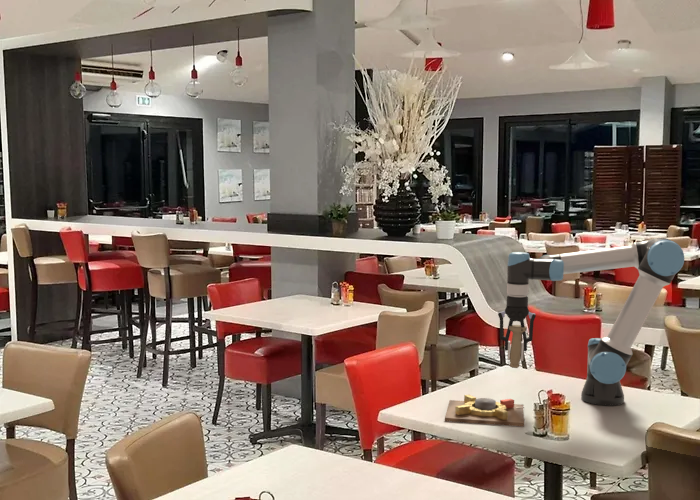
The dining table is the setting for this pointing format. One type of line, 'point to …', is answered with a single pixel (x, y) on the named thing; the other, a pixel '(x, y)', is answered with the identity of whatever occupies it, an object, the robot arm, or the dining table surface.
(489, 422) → the board
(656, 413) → the dining table surface
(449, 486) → the dining table surface
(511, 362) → the handle
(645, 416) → the dining table surface
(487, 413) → the ring nut
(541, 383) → the dining table surface
